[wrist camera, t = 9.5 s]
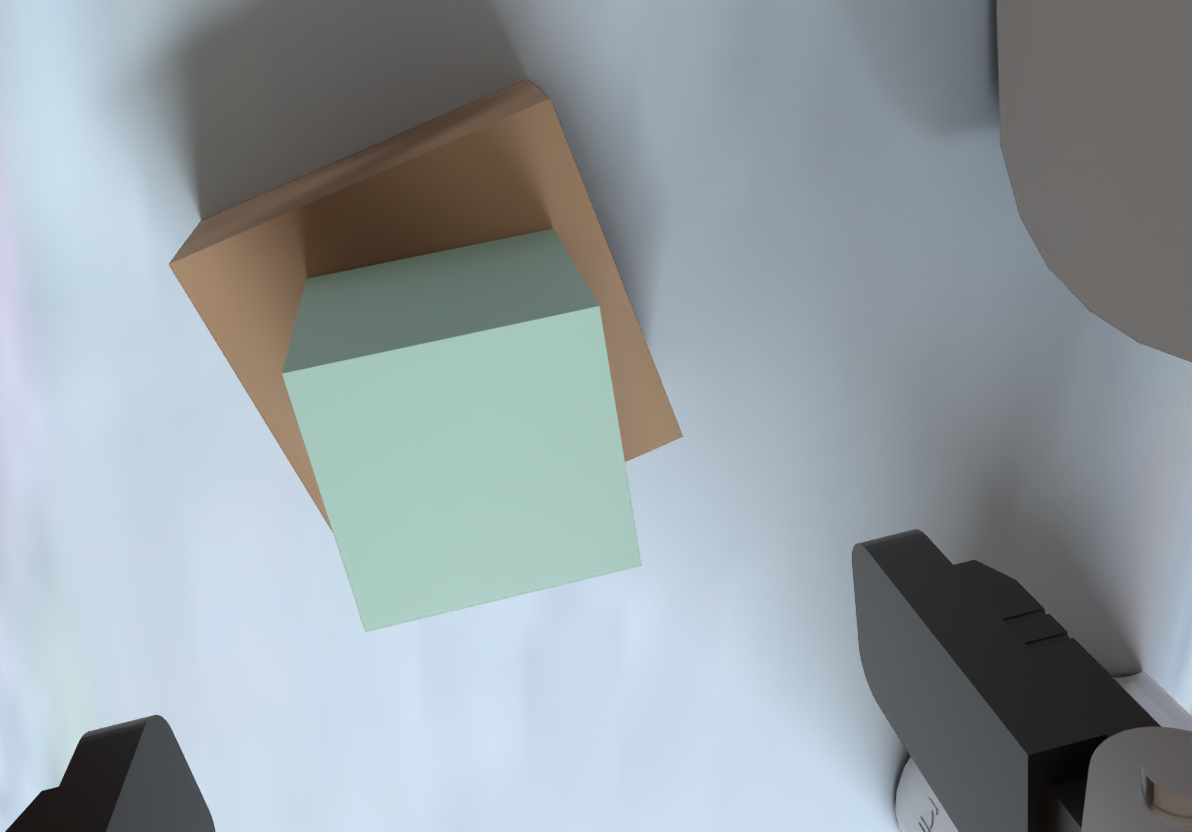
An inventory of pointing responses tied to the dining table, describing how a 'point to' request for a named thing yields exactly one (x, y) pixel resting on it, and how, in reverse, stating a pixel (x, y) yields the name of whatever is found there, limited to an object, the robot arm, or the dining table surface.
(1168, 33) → the alarm clock
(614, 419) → the teal cube
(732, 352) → the dining table surface
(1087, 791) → the robot arm
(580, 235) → the walnut block
